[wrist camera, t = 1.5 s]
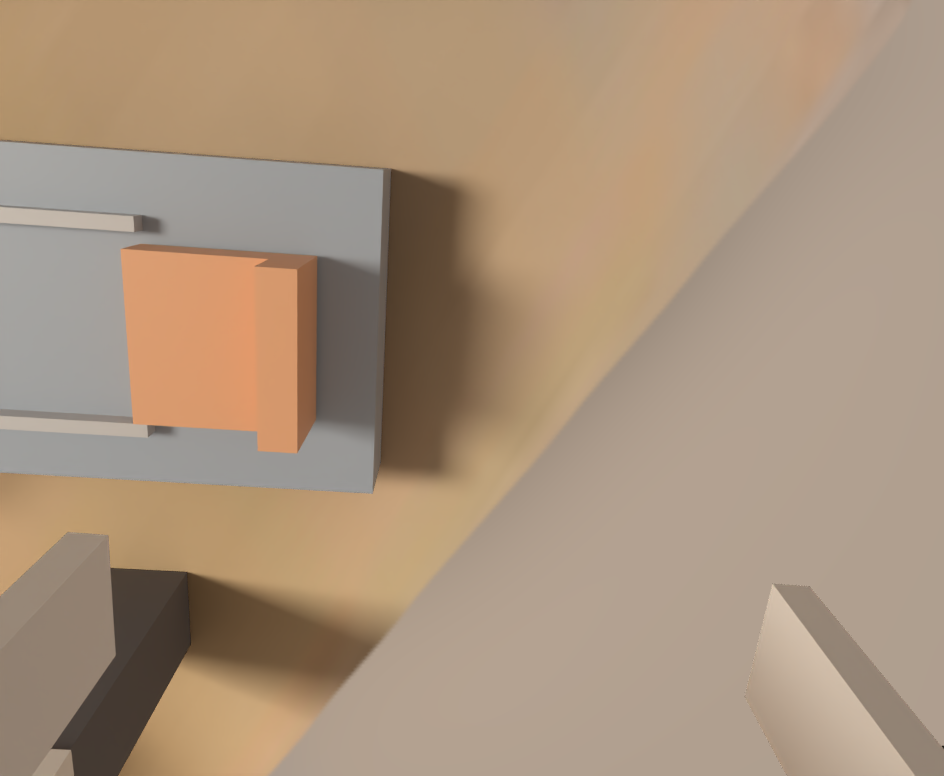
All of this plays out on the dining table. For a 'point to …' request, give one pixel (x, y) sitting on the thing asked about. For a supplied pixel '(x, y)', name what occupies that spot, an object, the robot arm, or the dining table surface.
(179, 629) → the plug
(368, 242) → the socket plate
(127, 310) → the block
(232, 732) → the dining table surface
